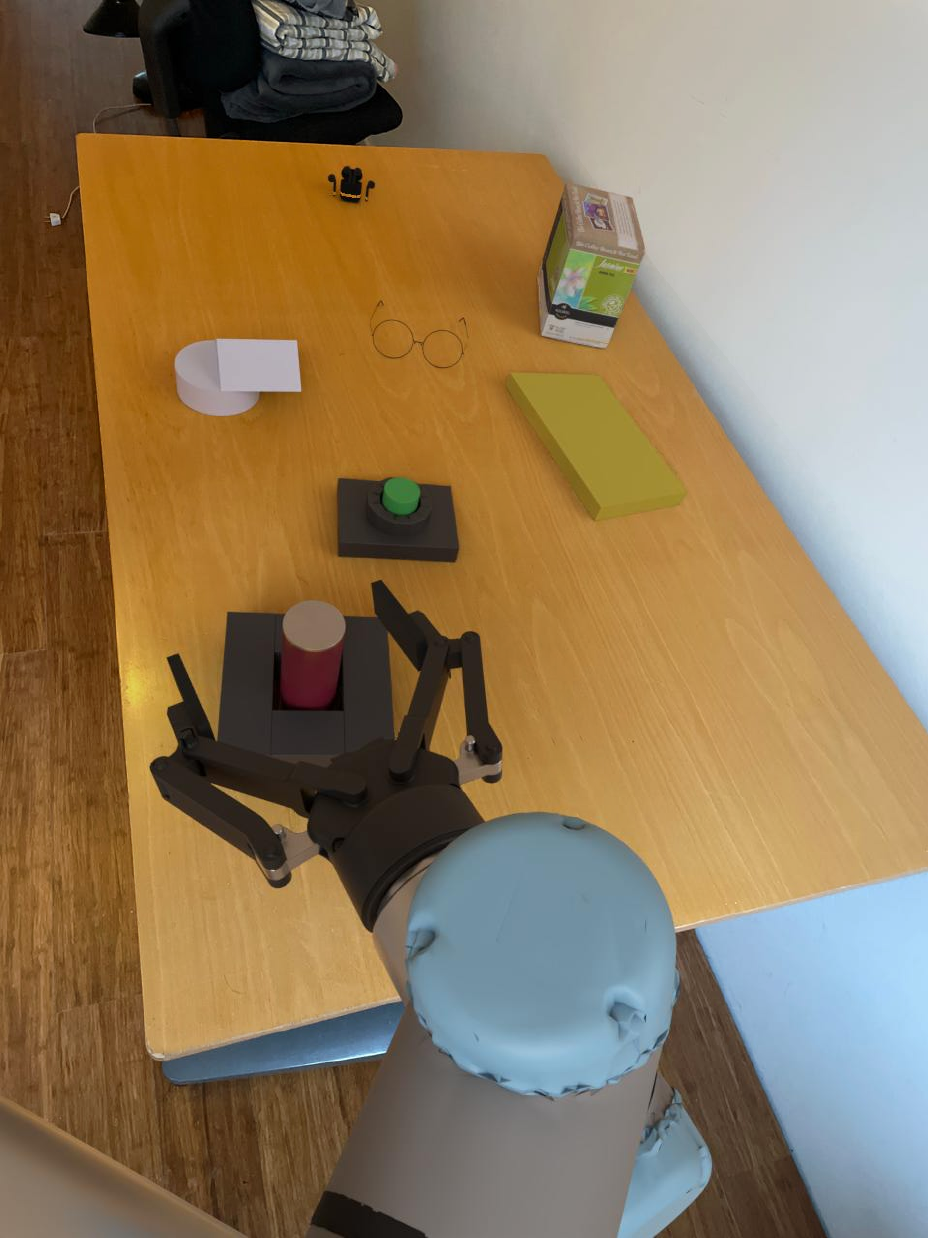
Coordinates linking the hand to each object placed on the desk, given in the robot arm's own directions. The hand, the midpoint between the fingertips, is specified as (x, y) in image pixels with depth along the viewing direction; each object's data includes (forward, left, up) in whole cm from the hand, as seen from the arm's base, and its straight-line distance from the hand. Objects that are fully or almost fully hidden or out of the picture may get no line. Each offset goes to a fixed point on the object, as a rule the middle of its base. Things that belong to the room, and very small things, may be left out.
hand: (282, 631), depth 53 cm
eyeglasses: (+16, +61, -18) cm, 66 cm away
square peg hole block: (+2, +5, -18) cm, 19 cm away
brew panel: (+11, +27, -18) cm, 34 cm away
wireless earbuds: (+8, +95, -18) cm, 97 cm away
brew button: (+11, +27, -14) cm, 32 cm away
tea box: (+39, +71, -18) cm, 83 cm away
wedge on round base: (-6, +47, -18) cm, 51 cm away
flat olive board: (+36, +43, -18) cm, 59 cm away
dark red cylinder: (+2, +5, -18) cm, 19 cm away
